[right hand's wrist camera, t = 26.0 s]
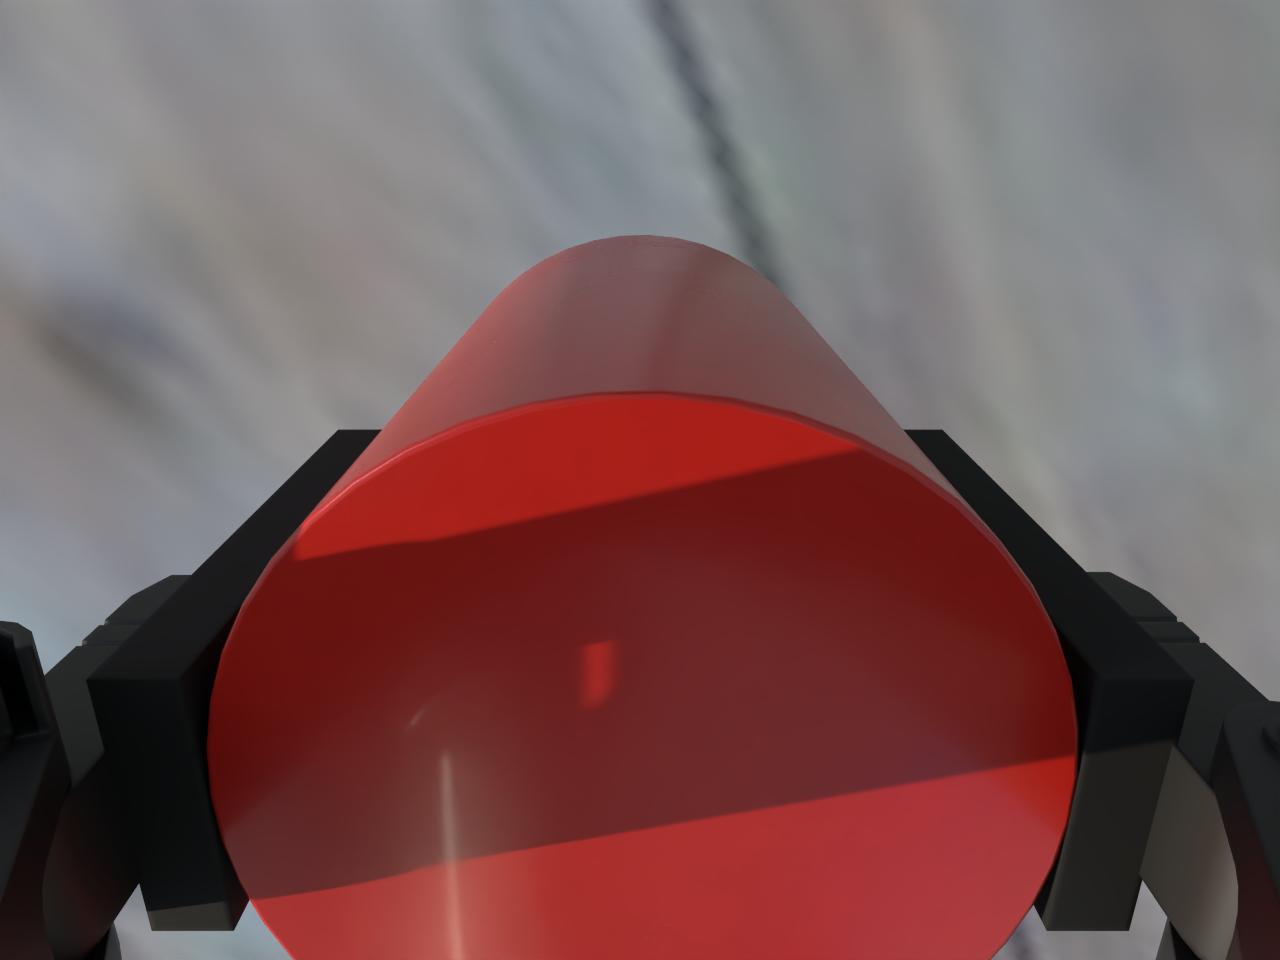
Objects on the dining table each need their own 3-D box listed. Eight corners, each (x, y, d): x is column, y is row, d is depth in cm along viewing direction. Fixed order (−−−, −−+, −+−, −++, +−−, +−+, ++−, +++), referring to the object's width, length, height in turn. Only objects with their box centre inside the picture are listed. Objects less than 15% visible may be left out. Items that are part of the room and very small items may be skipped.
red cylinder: (395, 286, 16) (44, 510, 7) (801, 191, 16) (1055, 287, 6) (508, 634, 19) (372, 1151, 9) (859, 563, 18) (1100, 1040, 9)
